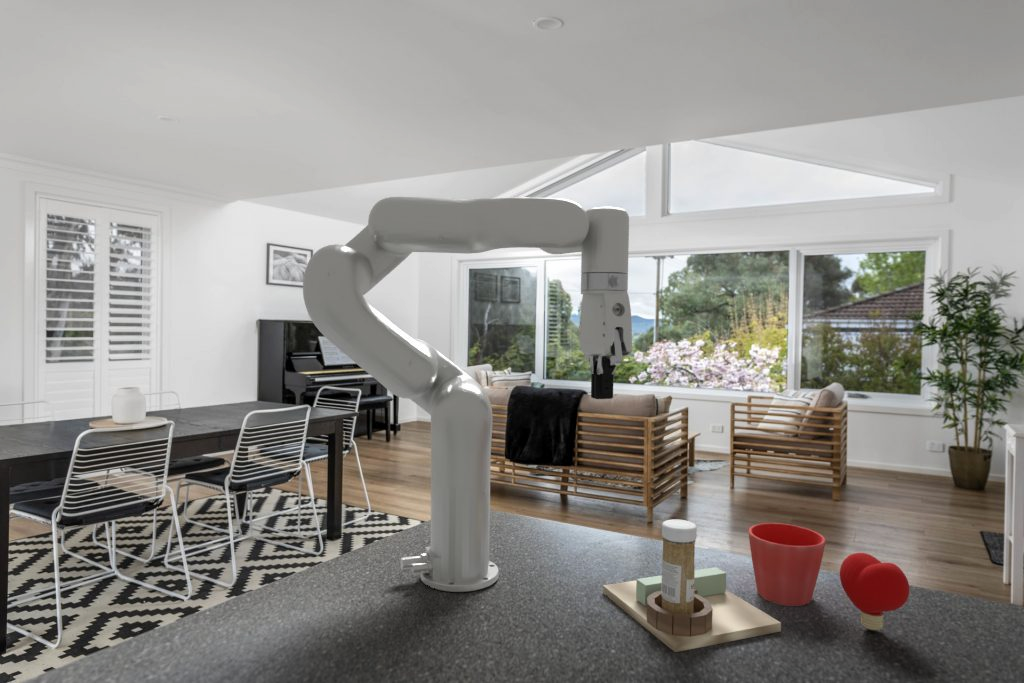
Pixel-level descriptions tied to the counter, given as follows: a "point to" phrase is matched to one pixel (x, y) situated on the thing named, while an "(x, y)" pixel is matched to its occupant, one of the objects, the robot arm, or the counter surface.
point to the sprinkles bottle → (678, 566)
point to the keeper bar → (704, 582)
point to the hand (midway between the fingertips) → (601, 398)
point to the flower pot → (785, 562)
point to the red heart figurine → (873, 587)
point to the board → (694, 618)
